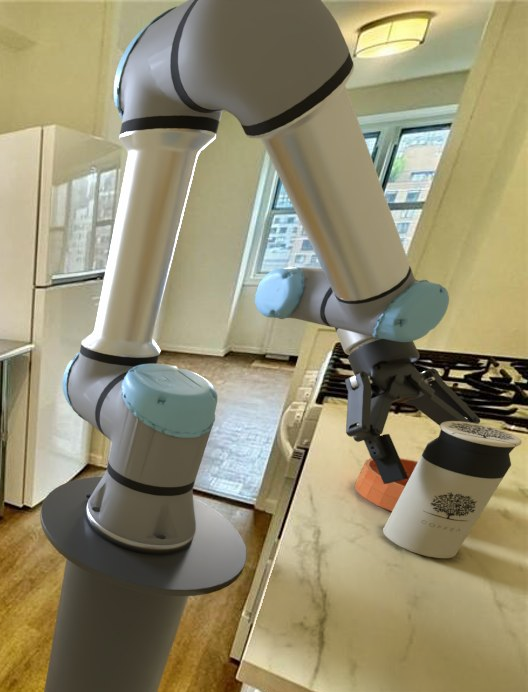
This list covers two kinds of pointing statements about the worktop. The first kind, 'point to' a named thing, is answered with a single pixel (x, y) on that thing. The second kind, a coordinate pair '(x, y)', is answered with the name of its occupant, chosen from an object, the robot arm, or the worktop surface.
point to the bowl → (382, 484)
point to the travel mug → (450, 488)
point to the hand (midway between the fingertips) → (436, 477)
